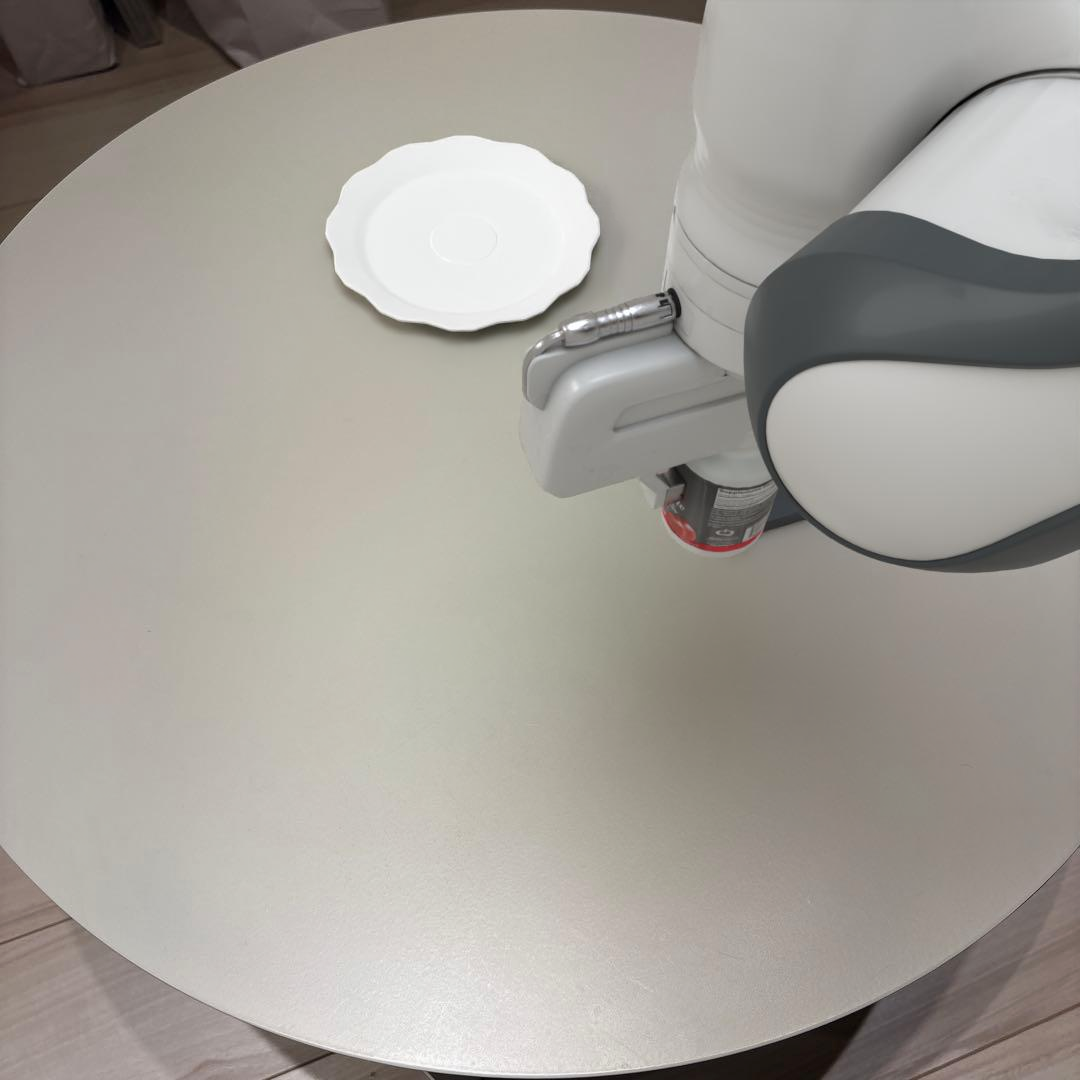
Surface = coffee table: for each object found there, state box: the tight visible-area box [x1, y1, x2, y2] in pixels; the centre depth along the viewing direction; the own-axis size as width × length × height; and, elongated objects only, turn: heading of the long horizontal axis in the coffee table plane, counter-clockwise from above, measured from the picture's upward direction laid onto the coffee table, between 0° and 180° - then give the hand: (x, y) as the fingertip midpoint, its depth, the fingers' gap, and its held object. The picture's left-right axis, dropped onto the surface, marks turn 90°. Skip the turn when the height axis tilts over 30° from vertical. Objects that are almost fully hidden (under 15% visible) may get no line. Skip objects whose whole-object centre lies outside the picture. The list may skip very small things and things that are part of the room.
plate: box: [324, 135, 601, 332], centre depth 89 cm, size 21×21×2 cm
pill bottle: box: [660, 430, 778, 559], centre depth 54 cm, size 5×5×10 cm
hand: (724, 475), depth 55 cm, fingers closed on pill bottle, 5 cm apart
